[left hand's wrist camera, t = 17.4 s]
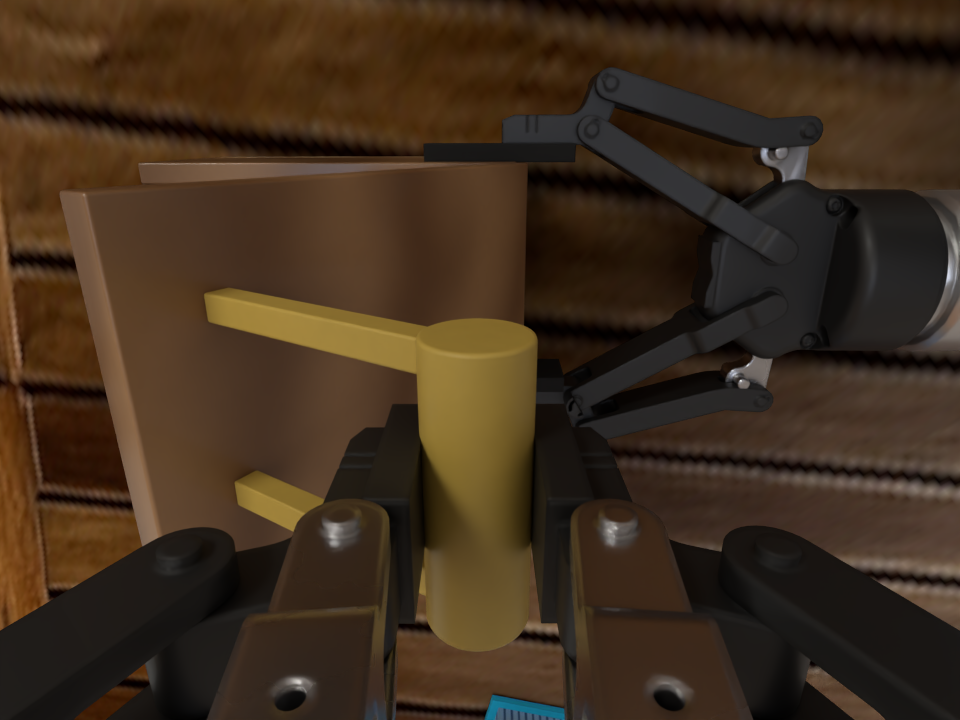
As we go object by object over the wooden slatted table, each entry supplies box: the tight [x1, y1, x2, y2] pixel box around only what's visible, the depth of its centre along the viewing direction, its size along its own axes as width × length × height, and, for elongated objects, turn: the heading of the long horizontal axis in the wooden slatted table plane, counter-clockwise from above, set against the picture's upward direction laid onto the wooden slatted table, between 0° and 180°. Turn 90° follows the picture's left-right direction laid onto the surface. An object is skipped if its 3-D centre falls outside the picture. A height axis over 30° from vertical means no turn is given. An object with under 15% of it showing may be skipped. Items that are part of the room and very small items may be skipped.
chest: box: [138, 156, 516, 185], centre depth 31 cm, size 16×10×9 cm, turn 90°
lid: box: [60, 163, 538, 651], centre depth 18 cm, size 17×10×9 cm
